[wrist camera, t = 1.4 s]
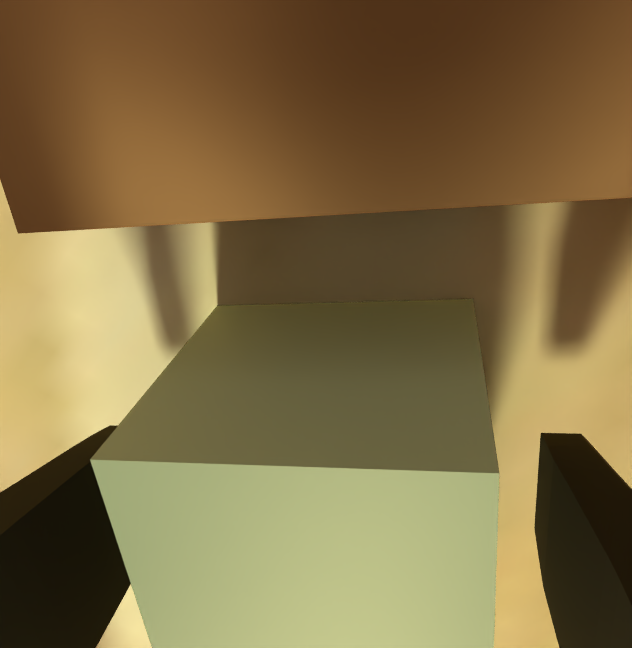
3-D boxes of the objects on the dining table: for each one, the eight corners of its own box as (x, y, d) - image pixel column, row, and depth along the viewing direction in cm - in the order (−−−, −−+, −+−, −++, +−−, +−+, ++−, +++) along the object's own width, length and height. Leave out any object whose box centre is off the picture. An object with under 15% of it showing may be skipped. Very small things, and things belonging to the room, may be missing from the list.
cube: (472, 297, 11) (499, 473, 6) (471, 505, 13) (490, 747, 8) (218, 303, 12) (89, 459, 7) (255, 495, 14) (171, 707, 10)
